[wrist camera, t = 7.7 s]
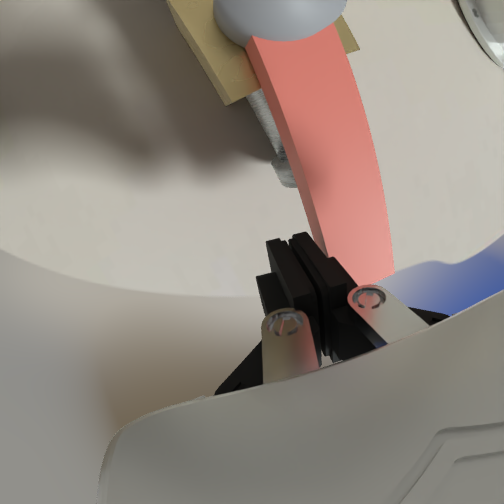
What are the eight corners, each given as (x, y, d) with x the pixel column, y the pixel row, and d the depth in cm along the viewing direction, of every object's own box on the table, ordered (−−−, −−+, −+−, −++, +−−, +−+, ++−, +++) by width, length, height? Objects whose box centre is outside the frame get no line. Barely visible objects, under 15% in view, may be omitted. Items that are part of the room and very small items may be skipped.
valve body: (229, -63, 10) (238, -113, 4) (348, 137, 17) (401, 152, 12) (141, -26, 10) (117, -70, 5) (265, 178, 18) (290, 210, 13)
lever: (198, -16, 7) (195, -50, 5) (294, -37, 7) (317, -69, 5) (312, 279, 14) (334, 318, 11) (384, 248, 14) (417, 279, 11)
